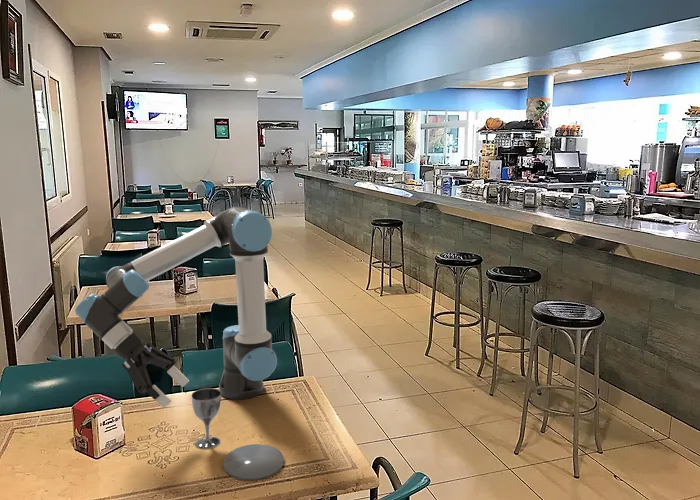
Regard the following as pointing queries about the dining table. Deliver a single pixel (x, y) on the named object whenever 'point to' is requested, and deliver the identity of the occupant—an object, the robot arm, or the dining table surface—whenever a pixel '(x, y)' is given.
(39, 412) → the dining table surface
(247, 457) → the plate
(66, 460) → the dining table surface
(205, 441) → the wine glass
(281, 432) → the dining table surface
